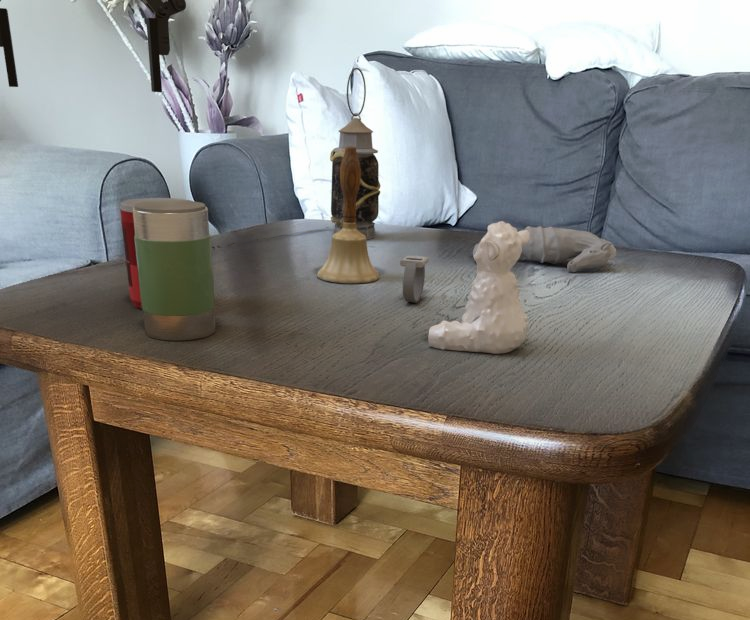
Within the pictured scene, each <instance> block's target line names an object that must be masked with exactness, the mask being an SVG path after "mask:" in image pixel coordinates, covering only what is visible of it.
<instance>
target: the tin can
mask: <svg viewBox="0 0 750 620" xmlns="http://www.w3.org/2000/svg"><path fill="white" fill-rule="evenodd" d="M133 219H134V228H135V236H134V239H135V248H136V257H137V267H138V276H139V286H140V295H141V305H142V309H141V310H142V313H143V321H144V322H143V323H144V331H145V335H146V336H148V337H149V338H152V339H155V340H160V341H167V342H168V341H172V342H175V341H176V342H184V341H185V342H186V341H193V340H199V339H204V338H208V337H210V336H212V335H214V333H215V332H216V318H215V316H216V315H215V307H216V302H215V301H216V299H215V286H214V284H215V283H214V270H213V254H212V238H211V237H212V236H211V234H210V224H209V209H208V207H207V206H206V204H205V203H203V202H200V201H194V200H191V201H184V200H157V201H146V202H140V203H137V204H135V205H134V208H133Z"/></svg>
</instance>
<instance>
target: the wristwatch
mask: <svg viewBox="0 0 750 620" xmlns="http://www.w3.org/2000/svg"><path fill="white" fill-rule="evenodd" d="M429 262H430V258H429V257H428V256H422V255H421V256H420V255H406V256H405V257H404V258H402V259H400V261H399V265H400V266H401V267H404V270H403V271H404V272H403V275H402V276H403V277H402V296H403V300H404V301H405V302H407V303H413V304H414V303H415V304H416V303H418V302H419V301H420V299H421V297H422V294H423V290H424V286H425V279H426V267H425V265H426V264H428V263H429Z"/></svg>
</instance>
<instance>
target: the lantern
mask: <svg viewBox="0 0 750 620" xmlns="http://www.w3.org/2000/svg"><path fill="white" fill-rule="evenodd" d="M356 70H357V71H358V72H359V73H360V75H361V77H362V78H361V79H362V81H363V103H362V106H361V109H360V110H359V112H358V113H357V112H353V111H352V108H351V105H350V99H349V89H350V88H349V86H350V81H351V77H352V75H353V73H354V72H355V71H356ZM366 94H367V87H366V79H365V75H364V73H363V71H362V70H361V69H360V67H354V68H353V69H352V70H351V71H350V74H349V76H348V78H347V84H346V103H347V107H348V110H349V112H350V114H351V115H352V116H351V117H350V118H351V119H350V121H349V122H348V123H347V124H346V125H344V126H343V127H342V128H340V129H339V130H338V133H339V138H338V139H339V141H338V142H339V143H338V147H334V148H333V149H332V150H331V151H330V154H329V161H330V162H332V163H331V165H332V166H331V167H332V168H331V190H330V191H331V194H330V195H331V197H330V213H331V217H330V221H331V222H332V223H333V224H334V227H333V234H335V233H337V232H339V231H340V230H342V228H343V217H344V215H343V213H344V197H343V193H342V189H341V183H340V168H341V163H342V159H343V156H344V153H345V148H346V147H347V146H348V147H350V146H352V147H356V151H357V156H358V159H359V163H360V170H361V177H360V186H359V190H358V194H357V198H356V229H357V230H358V231H359V232H361V233H362V234H364V235H365V236H366V241H367V240H371V239H373V238H375V237H376V235H375V234H376V230H375V229H376V228H375V225H376V223H375V222H374V221H376V220H377V219H378V217H379V205H380V204H379V203H380V202H379V199H380V198H379V196H380V195H381V190H380V189H381V183H380V179H379V178H380V177H379V176H380V175H379V171H380V170H379V167H380V165H379V161H378V158H377V157H376V155H375V154H378V153H379V150H378V149H375V148H373V147H374V146H373V136H372V134H373V133H374V131H373V130H372V129H371V128H369V127H368V126H367V125H365V124H364V122H362V117H361V114H362V112H363V110H364V107H365V103H366Z"/></svg>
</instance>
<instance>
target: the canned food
mask: <svg viewBox="0 0 750 620" xmlns="http://www.w3.org/2000/svg"><path fill="white" fill-rule="evenodd" d="M157 200H184V201H192V200H191V199H186V198H177V197H143V198H132V199H126V200H123V201H121V202H119V205H120V208H119V211H120V223H121V231H122V237H123V239H122V240H123V247H124V255H125V263H126V264H125V265H126V273H127V281H128V290H129V298H130V300H131V303H132V305H133V306H134V307H135V308H137V309H140V310H143V309H142V305H141V295H140V286H139V276H138V267H137V257H136V248H135V239H134V236H135V228H134V219H133V208H134V205H135V204H137V203H140V202H146V201H157Z"/></svg>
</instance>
